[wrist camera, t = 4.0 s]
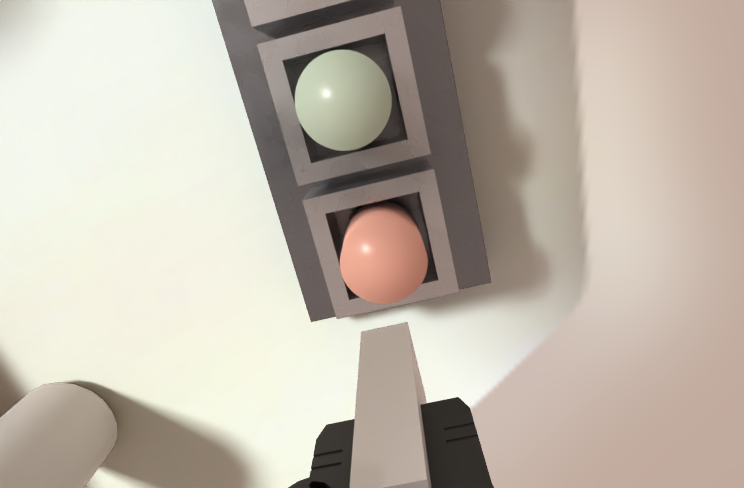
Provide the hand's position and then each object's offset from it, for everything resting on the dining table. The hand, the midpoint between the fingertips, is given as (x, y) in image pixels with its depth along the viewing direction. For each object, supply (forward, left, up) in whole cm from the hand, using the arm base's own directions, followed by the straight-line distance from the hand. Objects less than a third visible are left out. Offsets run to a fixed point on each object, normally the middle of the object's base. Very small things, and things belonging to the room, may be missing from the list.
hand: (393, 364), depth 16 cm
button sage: (-8, 0, -14) cm, 16 cm away
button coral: (0, 0, -14) cm, 14 cm away
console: (-8, 0, -18) cm, 20 cm away
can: (+10, -27, -19) cm, 34 cm away
